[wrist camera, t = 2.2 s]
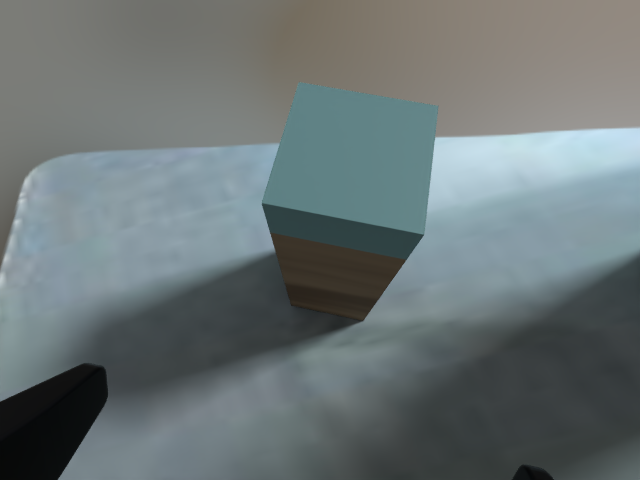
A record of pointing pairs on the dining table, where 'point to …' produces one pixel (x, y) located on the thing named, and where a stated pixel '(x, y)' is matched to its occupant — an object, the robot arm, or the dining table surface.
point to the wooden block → (348, 195)
